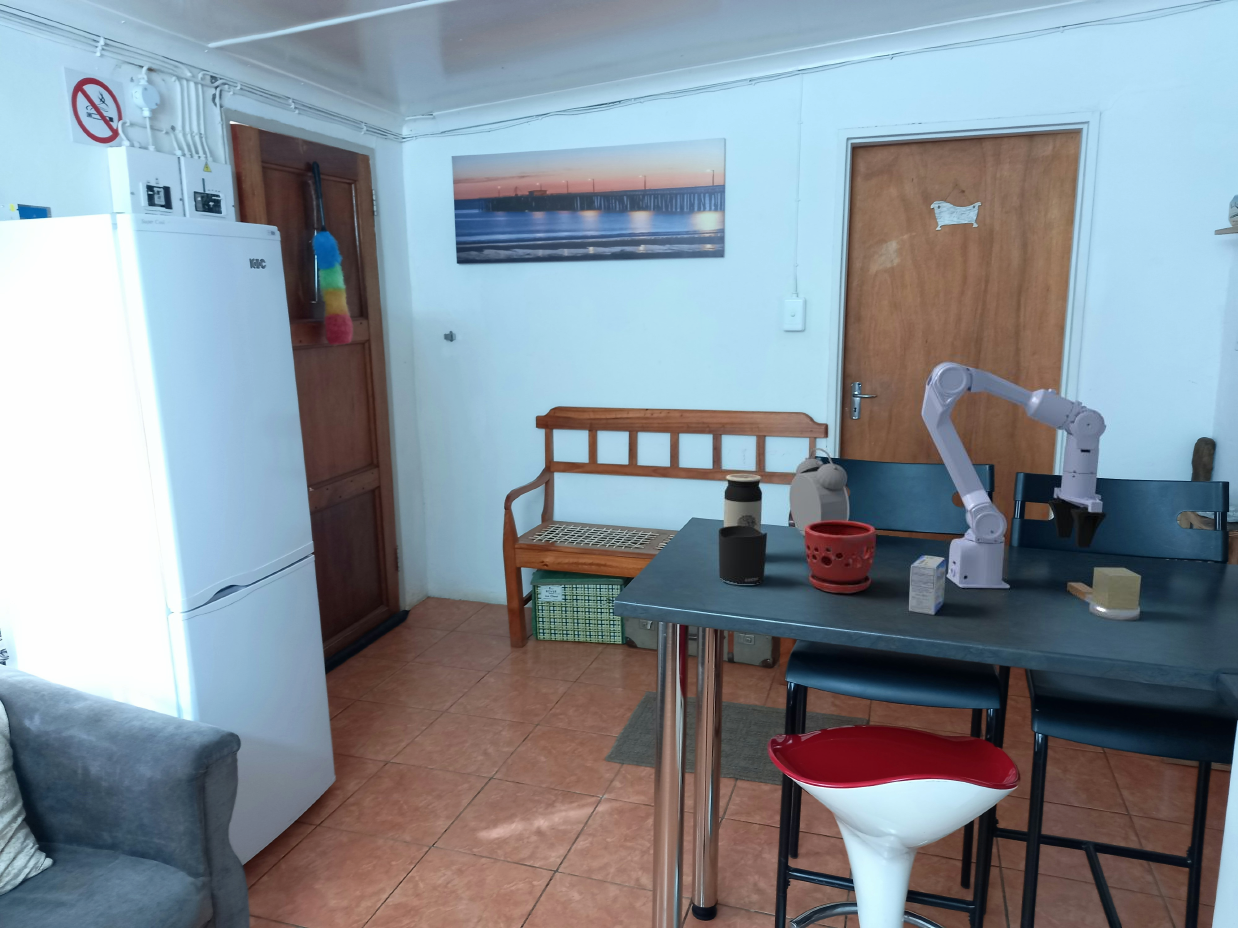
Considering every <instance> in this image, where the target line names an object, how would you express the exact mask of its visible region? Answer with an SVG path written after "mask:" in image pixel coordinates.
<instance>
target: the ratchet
mask: <svg viewBox="0 0 1238 928" xmlns="http://www.w3.org/2000/svg"><path fill="white" fill-rule="evenodd" d="M1066 586H1067V587H1066V591H1068V590H1069V591H1070V592H1069V591H1068V592H1069V593H1071V594H1073V595H1074V594H1075V595H1074V596H1076V595H1077V596H1076V597H1078V598H1079V599H1081V600H1083V601H1085V602H1088V603H1089V609H1088V611H1089V612H1090V613H1091V614H1092V615H1095V616H1097V617H1099V618H1104V619H1108V620H1111V621H1112V620H1113V621H1120V622H1121V621H1123V622H1127V621H1128V622H1130V621H1133V622H1134V621H1138V620H1139V619H1140V611H1141V607H1140V606H1139V605H1138V610H1113V609H1105V608H1104V607H1102V606H1100V605H1099V604H1097V603H1095V602H1094V601H1092V589H1093V587H1089V586H1088V585H1086V584H1084V583H1082V582H1067V585H1066Z"/></svg>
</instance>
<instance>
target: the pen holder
mask: <svg viewBox="0 0 1238 928" xmlns="http://www.w3.org/2000/svg"><path fill="white" fill-rule="evenodd" d="M767 538H768V532H764V533H763V532H762V531H761V532H760V531H758V530H757V529H755V528H753V527H749V526H728V527H724V526H723V527H721V528H719V529H718V566H719V569H718V570H719V571H718V573H719V574H718V575H719V579H720V578H722V579H723V580H725V581H729V582H733V583H737V584H757V583H760V582H762V583H763V581H764V578H765V568H766V556H767V555H766V553H767ZM760 584H761V583H760Z"/></svg>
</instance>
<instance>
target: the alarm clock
mask: <svg viewBox="0 0 1238 928" xmlns="http://www.w3.org/2000/svg"><path fill="white" fill-rule="evenodd" d="M814 451H821V452H823V453H824V454H826V456H827V458H828V461H829V462H830V463H826V464H825V463H824V462H823V461H822V460H820V459H817V458H811V457H812V455H813V453H814ZM847 481H848V475H847V472H846V471H845V469H844V468H843V467H842V466H840V465H838V464H835V463H833V461H832V458H831V456H830V453H829V452H828V451H827V450H825V449H823V448H820V447H815V448H812V449H811V450H810V453H809V456H808V457H805V458H804V460H803V461H801V462H800V463H799V464H798V465H797V466H796V469H795V475H794V478H793V479H792V481H791V483H790V488H789V496H788V497H789V499H788V500H789V509H790V513H791V517H792V520H793V522H794V524H795V527H796V528H797V530H798V531H799V530H803V531H799V533H800V534H801V535H802V536H803V537H805V527H806V526H807V525H809V524H812V523H815V522H821V521H833V520H835V521H849V518H850V500H849V494H848V491H847V489H846V484H847Z"/></svg>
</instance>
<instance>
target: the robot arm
mask: <svg viewBox="0 0 1238 928" xmlns="http://www.w3.org/2000/svg"><path fill="white" fill-rule="evenodd" d="M965 392H969V393H979V392H987V393H990V394H991V395H993V396H995V397H999V398H1002V399H1004V400H1007V401H1009V402H1011V403H1014V404H1016V405H1019V406H1021V407H1023V408H1024V410H1025V413H1026V415H1027V417H1028V418H1031V419H1033V420H1036V421H1037V422H1040V423H1042V424H1045V425H1047V426H1050V427H1051V428H1054V429H1056V430H1060V431H1063V430H1064V432H1066V436H1065V437H1066V438H1065V446H1064V451H1063V452H1064V454H1063V461H1062V462H1063V464H1062V466H1063V467H1062V472H1061V473H1062V475H1061V486H1060V487H1054V492H1053V498H1055V500H1048V506H1049V507H1050V510H1051V512H1052V514H1053V517H1054V524H1055V530H1056V536H1057V537H1058V538H1059V539H1070V538H1071V536H1072V533H1073V530H1074V529H1073V528H1074V527H1075V544H1076V547H1077V548H1083V549H1084V548H1090V547H1091V545H1092V543H1093V540H1094V538H1095V535H1096V533H1097V530H1098V528H1099V527H1100V525H1101V524H1102V522H1103V520H1104V519H1106V517H1107V512H1104V511H1103V503H1104V501H1102V500H1101V499H1102V495H1100V494H1096V487H1097V486H1096V485H1097V477H1098V470H1099V469H1098V467H1099V455H1100V439H1101V438H1100V437H1102V436H1103V435H1104V433H1105V431H1106V428H1107V424H1105V419H1104V416H1102V414H1101V413H1100V412H1099V411H1097V410H1095V409H1092V408H1088V407H1087V406H1086V405H1083V401H1079V400H1075V401H1073V400H1070V399H1068V398H1066V397H1064V396H1061V395H1059V394H1058V391H1057V390H1055V389H1052V388H1049V389H1048V390H1047V389H1045V388H1041V389H1038V390H1036V391H1035V390H1034V391H1030V390H1028V389H1026V388H1024V387H1021V386H1019V385H1017V384H1015V383H1012V382H1011V381H1009V380H1006V379H1004V378H1001V377H999V376H997V375H995V374H992V373H990V372H989V371H985V370H982V369H978V368H974V367H969V366H966V365H962V364H959V363H956V362H953V361H952V362H951V361H945V362H941V363H939V364H937V366H935V367H934V368H933V370H932V372H931V373H930V375H929V376H928V379H927V380H926V383H925V391H924V397H923V402H922V406H921V407H922V408H921V417H922V420H923V421H924V424H925V426H926V428H927V430H928V432H929V434H930V436H931V438H932V441H933V443H934V445H935V447H936V449H937V451H938V453H939V455H940V458H941V459H942V461H943V464H944V465H945V467H946V469H947V472H948V473H949V475H950V477H951V480H952V482H953V484H954V486H955V488H956V490H957V492H958V495H959V497H960V499H961V501H962V503H963V505H964V508H965V520H966V523H967V525H968V526H969V527H970V528H969V529H968V530H967V531H966V532H965V533H964V536H963V537H962V538H954V539H952V541H950V542H951V543H950V545H949V556H948V568H947V569H948V571H947V572H948V573H947V574H946V578H948V579H949V580H950V581H952V582H953V583H954V584H956V585H957V586H958V587H960V588H961V589H962V588H965V589H967V588H968V589H969V588H970V589H1009V588H1010V587H1011V585H1009V584H1008V583H1007V582H1005V581H1004V580H1003V569H1004V568H1003V567H1004V566H1003V565H1004V554H1005V553H1004V552H1005V542H1006V541H1005V536H1004V535H1005V533H1006V531H1007V529H1008V528H1007V527H1008V524H1007V523H1008V522H1007V519H1006V517H1005V516H1004V514H1002V513H1001V512H1000V511H999V509H998V507H997V506H996V505H995V504H994V503H993V502H992V501H991V499H990V497H989V495H988V493H987V491H986V490H985V488H984V485H983V483H982V482H981V480H980V478H979V475H978V474H977V472H976V469H975V467H974V465H973V463H972V461H971V459H970V457H969V455H968V453H967V451H966V449H965V447H964V445H963V442H962V440H961V438H960V435H959V434H958V432H957V430H956V427H955V426H954V424H953V422H952V420H951V417H950V415H951V413H952V410H953V409H954V406H955V404H956V401H958V400H959V398H961V397H962V395H963V394H964V393H965ZM1080 508H1081V509H1080Z"/></svg>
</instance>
